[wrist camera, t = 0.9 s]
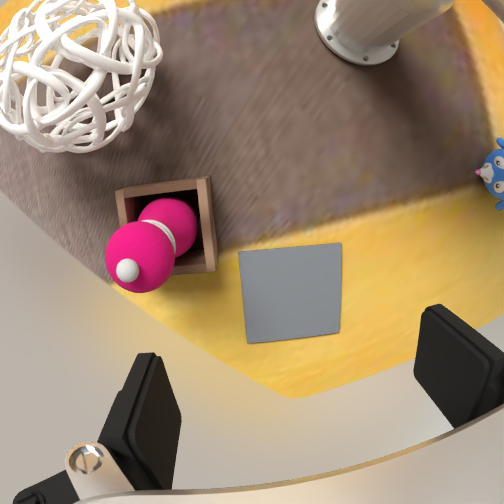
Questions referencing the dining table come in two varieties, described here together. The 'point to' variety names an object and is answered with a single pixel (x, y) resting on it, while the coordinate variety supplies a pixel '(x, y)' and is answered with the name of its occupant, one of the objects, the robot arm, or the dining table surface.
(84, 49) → the decorative ball
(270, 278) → the mat
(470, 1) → the dining table surface
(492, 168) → the blue mole toy
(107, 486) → the robot arm
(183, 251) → the pink bowling pin
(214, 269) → the holder
